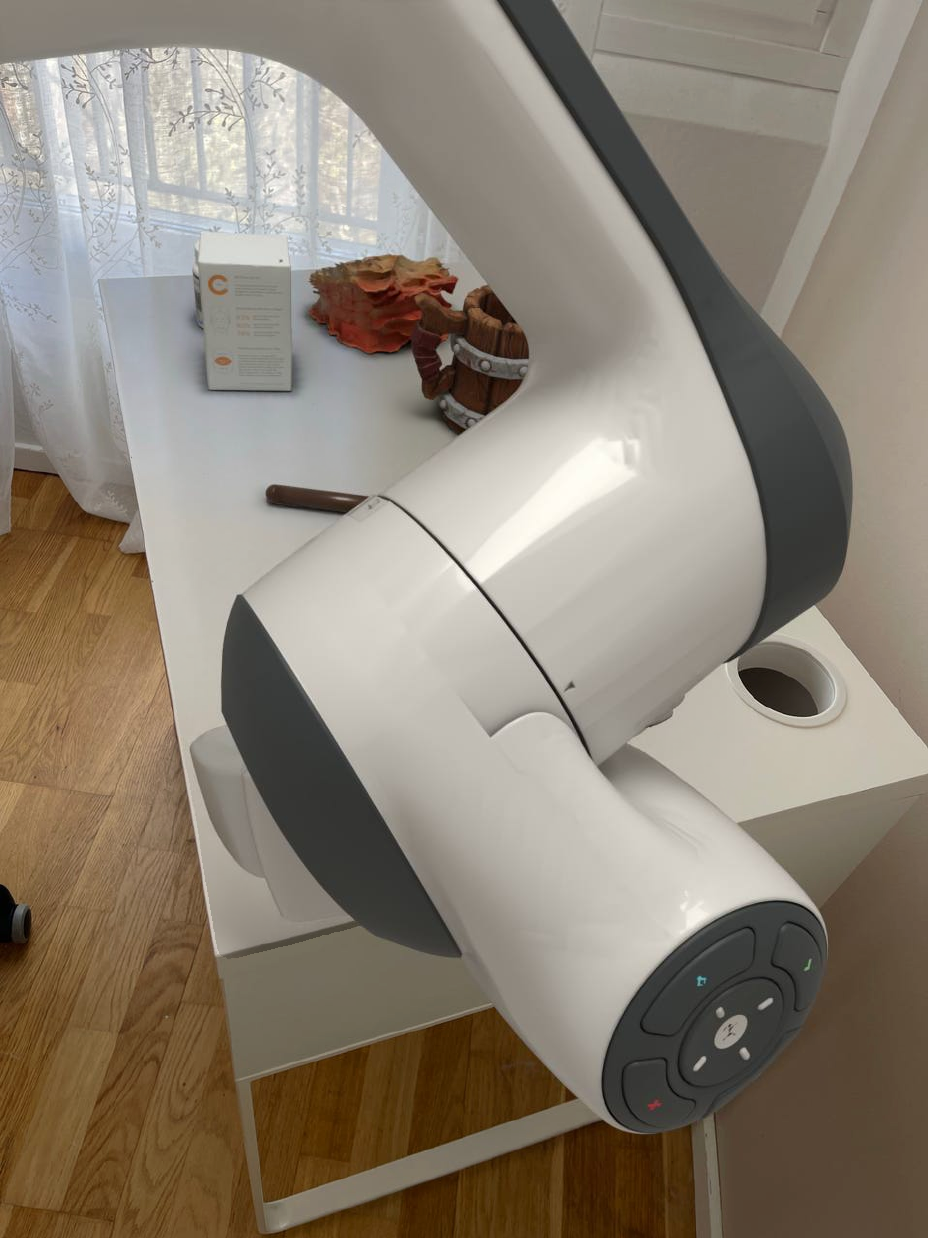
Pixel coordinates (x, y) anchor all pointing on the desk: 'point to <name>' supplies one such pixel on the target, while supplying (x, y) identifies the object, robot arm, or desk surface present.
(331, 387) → the desk surface
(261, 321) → the small box
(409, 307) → the orange layered rock
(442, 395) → the mug
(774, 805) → the desk surface
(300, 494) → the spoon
